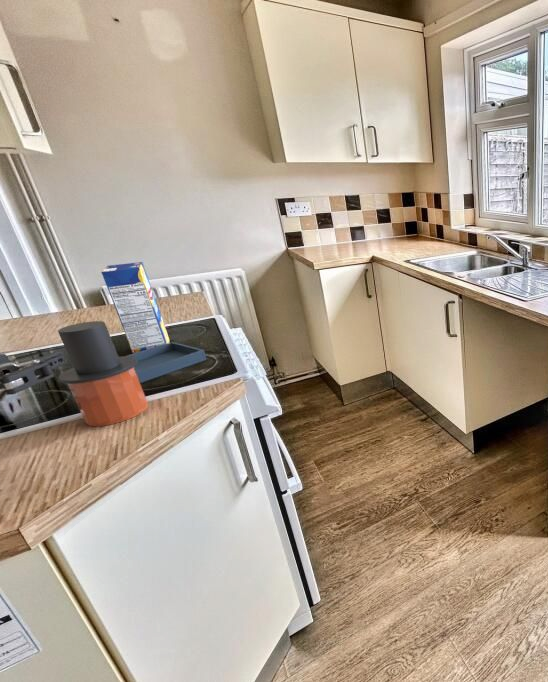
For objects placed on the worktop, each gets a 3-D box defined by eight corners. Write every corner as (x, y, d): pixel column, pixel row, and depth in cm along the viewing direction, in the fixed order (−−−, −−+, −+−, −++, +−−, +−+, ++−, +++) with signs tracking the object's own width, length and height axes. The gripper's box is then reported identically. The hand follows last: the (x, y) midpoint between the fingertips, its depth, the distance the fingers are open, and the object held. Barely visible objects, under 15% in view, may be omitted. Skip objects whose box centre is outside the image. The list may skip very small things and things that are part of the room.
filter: (82, 404, 71) (53, 340, 67) (56, 392, 76) (27, 332, 72) (154, 378, 80) (132, 321, 76) (127, 369, 85) (105, 314, 81)
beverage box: (134, 358, 106) (101, 272, 98) (138, 345, 115) (107, 265, 107) (168, 351, 110) (138, 267, 102) (169, 340, 118) (142, 261, 110)
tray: (110, 393, 88) (106, 382, 87) (80, 381, 94) (76, 370, 93) (207, 359, 104) (204, 349, 103) (175, 351, 110) (172, 341, 109)
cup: (99, 430, 75) (79, 385, 71) (77, 419, 78) (57, 376, 75) (158, 407, 82) (142, 365, 79) (134, 398, 86) (118, 357, 83)
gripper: (-55, 380, 50) (71, 333, 65) (-182, 386, 49) (-25, 338, 64) (-24, 434, 53) (90, 377, 68) (-144, 440, 52) (-2, 381, 67)
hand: (34, 358), depth 66 cm, fingers open, 8 cm apart
